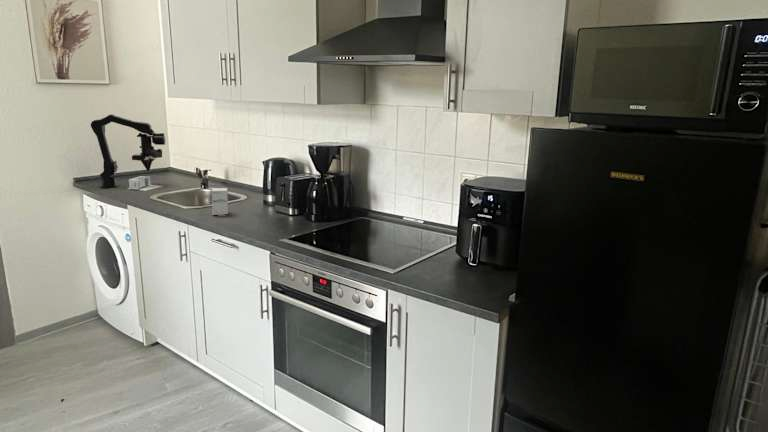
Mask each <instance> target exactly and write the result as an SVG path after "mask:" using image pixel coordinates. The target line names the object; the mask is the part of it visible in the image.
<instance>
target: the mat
mask: <svg viewBox="0 0 768 432" xmlns="http://www.w3.org/2000/svg"><path fill="white" fill-rule="evenodd" d="M163 187H164V186H163V185H156V184H151V185H150V186H147V187H144V188H141V189H139V190H138V189H131V190H134V191H142V192H146V191H150V190H155V189H160V188H163ZM127 189H128V190H130V189H129V187H127Z"/></svg>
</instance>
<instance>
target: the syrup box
mask: <svg viewBox="0 0 768 432" xmlns="http://www.w3.org/2000/svg"><path fill="white" fill-rule="evenodd" d="M150 185H152V183H151V176H150V175H149V176H148V175H147V176H146V175H140V176H137V177H133V178H130V179H128V188H129V189H128V190H132V189H138V190H137V191H140V190H139V189H141V188H144V187H147V186H150Z"/></svg>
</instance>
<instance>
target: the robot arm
mask: <svg viewBox="0 0 768 432" xmlns="http://www.w3.org/2000/svg"><path fill="white" fill-rule="evenodd" d="M110 123H114V124H118V125H122V126H125V127H129V128H131V129H134V130H136V131H138V132H139V133H138V134H137V135H136V138H137V137H138V138H140V146H139V148H140V149H141V152H140V153H139V154H133V155H132V156H131V160H132V161H140V162H141V164H143V166H144V168H145V170H146V171H147V172H148V171H150V170H151V166H152V164H153V161H155V160H156V159H159V158H162V157H163V150H162V149H161V148H158V149H155V147H154V145H158V146H159V145H161V146H163V145H166V137H165V133H162V132H160V133H159V132H158V133H157V132H155V131H154V130H153V129H152V126H151V124H150V123H148V122H144V121H143V122H142V121H141V122H140V121H133V120H131V119H128V118H125V117H124V118H123V117H121V116H117V115H115V114H108V115H107V116H105V117H103V118H100V119H95V120H92V121H91V123H90V128H91V130H92V132H93V133H94V134H95V136H96V138H97V141H98V145H99V148H100V153H101V156H102V159H103V171H102V172H101V173H100V174H99V176H100V178H101V186H99V188H102V189H112V188H116V187H118V186H117V185H116V182H115V177H114V175H115V174H116V173H117V171H118V168H119V166H118V163H117V161H116V160H113V158H112V154H111V152H110V148H109V145H108V140H107V137H106V126H107V125H108V124H110ZM152 144H154V145H152Z"/></svg>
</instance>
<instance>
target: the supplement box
mask: <svg viewBox="0 0 768 432" xmlns="http://www.w3.org/2000/svg"><path fill="white" fill-rule="evenodd" d="M228 189H229V188H228V187H212V188H211V210H212V211H211V212H212V216H213V215H217V214H229V200H228V199H229V197H228V194H229V193H228V191H229V190H228Z"/></svg>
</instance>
